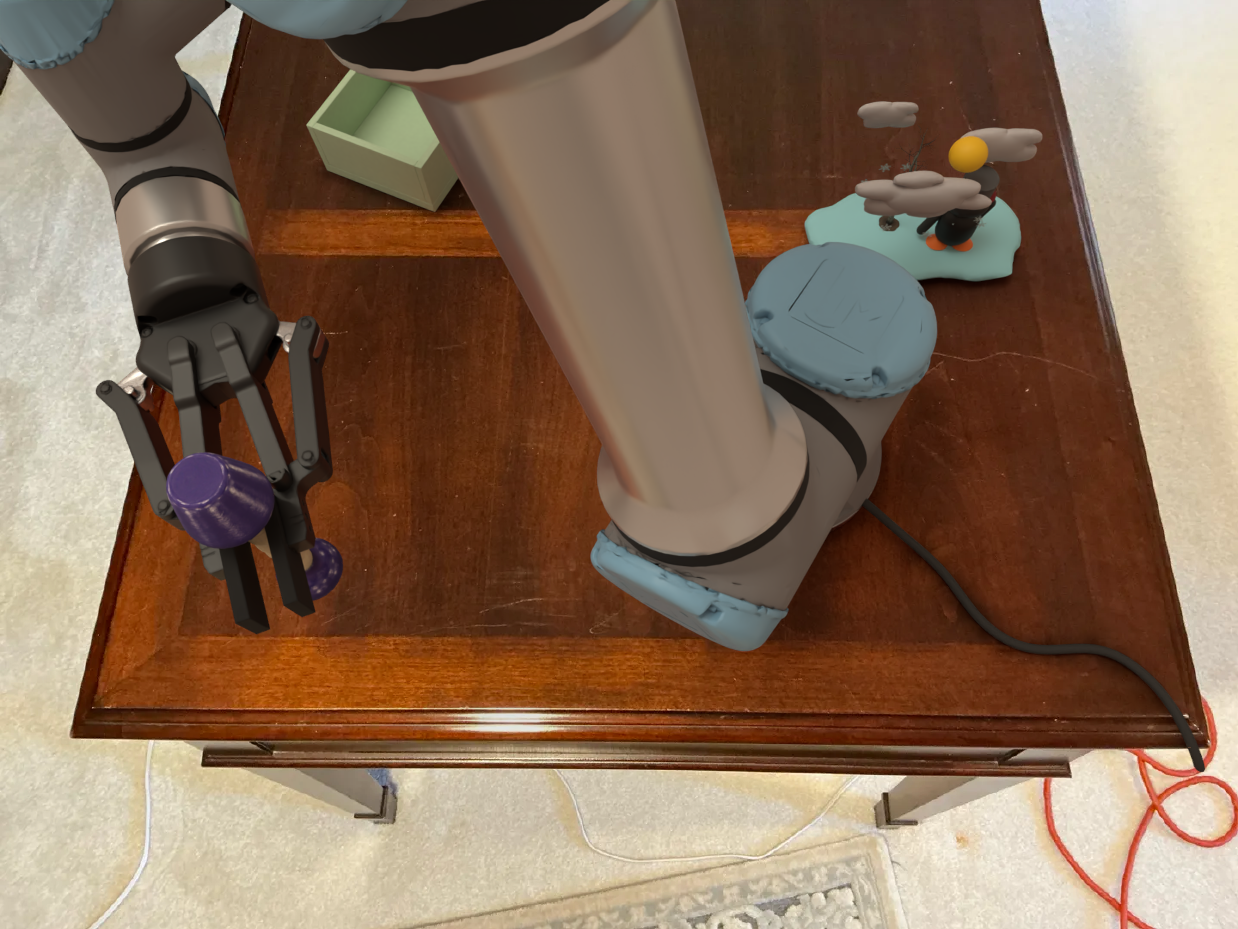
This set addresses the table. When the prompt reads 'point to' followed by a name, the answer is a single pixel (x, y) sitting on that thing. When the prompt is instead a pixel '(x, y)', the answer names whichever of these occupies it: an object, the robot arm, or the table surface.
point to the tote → (382, 141)
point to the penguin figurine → (933, 206)
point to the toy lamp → (239, 512)
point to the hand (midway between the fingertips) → (276, 617)
